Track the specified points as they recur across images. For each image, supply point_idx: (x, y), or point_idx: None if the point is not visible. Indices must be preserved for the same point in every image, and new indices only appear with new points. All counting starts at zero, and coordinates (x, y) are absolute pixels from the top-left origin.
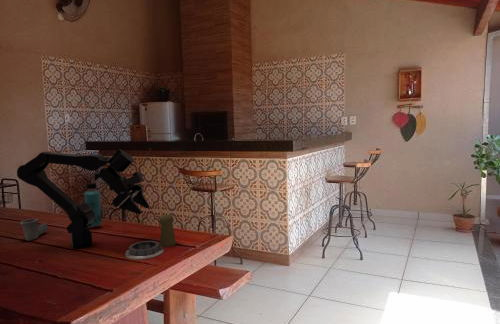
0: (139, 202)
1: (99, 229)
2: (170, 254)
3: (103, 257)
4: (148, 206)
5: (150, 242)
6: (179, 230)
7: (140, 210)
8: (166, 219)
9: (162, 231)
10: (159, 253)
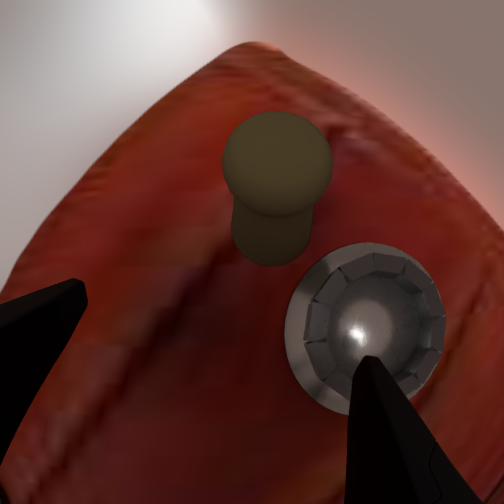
0: (22, 389)
1: (6, 484)
2: (410, 218)
3: None
4: (78, 288)
5: (332, 303)
6: (88, 182)
7: (382, 373)
8: (331, 154)
9: (303, 223)
10: (414, 259)
